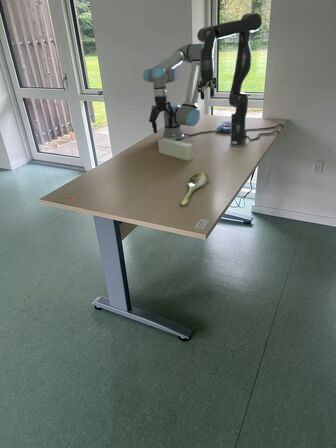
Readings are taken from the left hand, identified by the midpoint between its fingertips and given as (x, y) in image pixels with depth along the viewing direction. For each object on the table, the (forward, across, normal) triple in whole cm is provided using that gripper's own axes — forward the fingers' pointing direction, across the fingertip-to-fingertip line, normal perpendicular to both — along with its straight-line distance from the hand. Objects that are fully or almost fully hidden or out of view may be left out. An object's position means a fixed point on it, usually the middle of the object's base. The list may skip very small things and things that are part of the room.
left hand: (163, 130), depth 215 cm
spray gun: (+14, +64, -4) cm, 65 cm away
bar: (+15, 0, -10) cm, 18 cm away
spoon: (+15, -31, -54) cm, 64 cm away
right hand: (-19, +16, -24) cm, 34 cm away
